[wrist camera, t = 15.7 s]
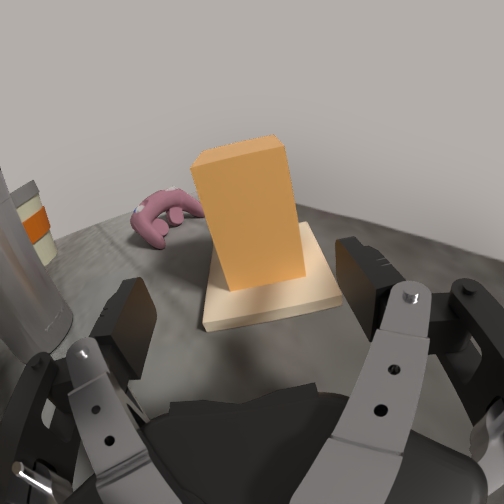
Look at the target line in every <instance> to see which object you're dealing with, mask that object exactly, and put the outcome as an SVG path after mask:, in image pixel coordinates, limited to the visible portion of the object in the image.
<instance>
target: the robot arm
mask: <svg viewBox="0 0 504 504" xmlns="http://www.w3.org/2000/svg"><path fill="white" fill-rule="evenodd" d="M335 251H336V276H337V281H338V285H339V287H340V289H341V291H342V293H343V294H344V296H345V298H346V300H347V302H348V303H349V305H350V307H351V309H352V310H353V312H354V314H355V316H356V318H357V320H358V321H359V323H360V325H361V327H362V329H363V331H364V333H365V334H366V336H367V338H368V340H369V342H372V344H371V347H370V349H369V352H368V355H367V357H366V360H365V363H364V365H363V368H362V370H361V373H360V375H359V377H358V380H357V382H356V385H355V387H354V389H353V391H352V394H351V396H350V397H348V396H345V395H341V394H336V393H327V392H318V391H317V388H316V384H315V383H310V384H306V385H301V386H297V387H292V388H287V389H281V390H277V391H275V392H272V393H270V394H267V395H265V396H262V397H259V398H257V399H254V400H251V401H249V402H246V403H242V404H232V403H223V402H214V401H207V400H199V401H184V402H170V410H169V413H166V414H163V415H160V416H158V417H156V418H154V419H152V420H151V421H150V420H149V418H148V417H147V415H146V413H145V412H144V410H143V409H142V407H141V405H140V404H139V402H138V400H137V399H136V397H135V395H134V394H133V392H132V390H131V389H130V387H129V386H128V381H129V380H140V379H141V375H142V371H143V367H144V363H145V359H146V356H147V352H148V348H149V345H150V341H151V338H152V334H153V331H154V327H155V324H156V320H157V313H156V309H155V306H154V304H153V301H152V299H151V297H150V295H149V292H148V290H147V288H146V285H145V283H144V281H143V279H142V278H141V277H137V278H132V279H126V280H123V281H122V283H121V285H120V287H119V289H118V290H117V292H116V293H115V294H114V295H113V296H112V297H111V298H110V299H109V300H108V301H107V303H106V304H105V306H104V308H103V311H102V312H101V314H100V317H99V318H98V320H97V321H96V323H95V325H94V327H93V329H92V331H91V333H90V335H89V337H86V338H82V339H80V340H78V341H76V342H75V343H74V344H73V345H72V346H71V347H70V348H69V349H68V351H67V354H66V357H65V358H62V359H59V360H56V361H54V360H53V358H52V357H51V356H50V354H49V353H50V352H52V351H53V350H54V349H55V348H56V347H57V346H58V345H59V344H60V342H61V341H62V340H63V338H64V337H65V335H66V334H67V332H68V331H69V328H70V326H71V323H72V319H73V314H72V311H71V309H70V308H69V306H68V305H67V303H66V302H65V300H64V299H63V297H62V295H61V294H60V292H59V291H58V289H57V287H56V286H55V284H54V282H53V281H52V279H51V277H50V276H49V274H48V272H47V270H46V269H45V267H44V265H43V263H42V262H41V260H40V258H39V256H38V254H37V252H36V250H35V249H34V247H33V245H32V243H31V241H30V239H29V237H28V235H27V232H26V230H25V228H24V226H23V224H22V222H21V220H20V217H19V215H18V213H17V210H16V208H15V206H14V203H13V201H12V198H11V196H10V193H9V191H8V188H7V185H6V183H5V180H4V177H3V174H2V171H1V168H0V338H1V339H2V340H3V341H4V343H5V344H6V345H7V346H8V347H9V349H10V350H11V351H12V352H13V353H14V355H15V356H16V357H17V358H18V359H19V360H20V361H21V362H23V363H27V364H26V366H25V368H24V370H23V373H22V375H21V377H20V379H19V381H18V383H17V385H16V387H15V390H14V392H13V394H12V396H11V399H10V401H9V404H8V406H7V408H6V411H5V413H4V416H3V419H2V421H1V424H0V504H486V503H487V497H488V495H490V494H491V493H492V492H494V491H495V490H497V489H498V488H499V487H501V486H502V485H503V484H504V308H503V307H502V306H501V305H500V304H499V303H498V302H497V300H496V299H495V298H494V297H493V296H492V295H491V294H490V293H489V292H488V291H487V290H486V289H485V288H484V287H483V286H482V285H481V284H480V283H479V282H477V281H475V280H472V279H467V278H462V279H458V280H456V281H454V282H453V284H452V287H451V291H450V293H431V292H430V290H429V289H428V288H427V287H426V286H425V285H423V284H421V283H418V282H414V281H406V280H405V279H404V278H403V276H402V275H401V274H400V273H399V272H398V271H397V270H396V269H395V268H394V267H393V266H392V264H390V262H389V261H388V260H387V259H385V257H384V256H383V255H382V254H381V253H380V252H379V251H378V250H376V249H374V248H372V247H370V246H363V245H362V244H361V243H360V242H359V241H358V239H357V238H356V237H354V236H352V237H347V238H342V239H337V240H336V243H335ZM471 336H473V338H474V339H475V341H476V342H477V343H478V345H479V346H480V348H481V351H482V357H481V355H480V354H479V352H478V351H477V349H476V348H475V346H474V345H473V343H472V342H471V340H470V339H471ZM430 354H436V355H437V357H438V359H439V361H440V362H441V364H442V366H443V368H444V370H445V371H446V373H447V375H448V377H449V379H450V381H451V382H452V384H453V386H454V388H455V390H456V392H457V394H458V396H459V398H460V400H461V402H462V404H463V406H464V408H465V410H466V412H467V414H468V416H469V418H470V421H471V423H472V425H473V429H472V431H471V434H470V448H469V451H470V453H471V454H472V456H471V458H470V457H469V456H467V455H464V454H462V453H460V452H457V451H455V450H453V449H451V448H449V447H446V446H444V445H442V444H440V443H438V442H436V441H434V440H432V439H430V438H428V437H425V436H423V435H421V434H419V433H417V432H415V431H413V430H412V429H411V426H412V423H413V419H414V416H415V412H416V408H417V404H418V400H419V396H420V392H421V387H422V383H423V378H424V373H425V367H426V362H427V356H428V355H430ZM47 398H48V399H49V400H50V401H51V402H52V403H53V404H54V405H55V406H56V409H55V412H54V415H53V418H52V421H51V424H50V428H49V429H48V428H47V427H46V426H45V425H44V424H43V422H42V419H41V413H42V410H43V407H44V405H45V402H46V399H47ZM81 439H82V442H83V445H84V447H85V450H86V453H87V455H88V458H89V460H90V462H91V465H92V467H93V469H94V472H95V473H94V474H93V475H92V476H91V477H90V478H88V479H87V480H86V481H85V482H84V483H83V484H82V485H81V486H80V487H79V488H78V489H77V490H76V491H74V492H73V488H72V483H73V477H74V471H75V465H76V460H77V455H78V450H79V445H80V440H81Z"/></svg>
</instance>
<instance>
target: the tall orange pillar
mask: <svg viewBox="0 0 504 504" xmlns="http://www.w3.org/2000/svg"><path fill="white" fill-rule="evenodd" d="M190 170H191V173H192V176H193V180H194V183H195V186H196V189H197V193H198V196H199V199H200V202H201V205H202V208H203V212H204V215H205V218H206V221H207V224H208V227H209V230H210V233H211V236H212V239H213V242H214V245H215V248H216V251H217V254H218V257H219V260H220V263H221V266H222V269H223V272H224V275H225V278H226V281H227V283H228V286H229V289H230V292H231V291H236V290H242V289H247V288H252V287H257V286H262V285H267V284H272V283H277V282H282V281H287V280H292V279H297V278H301V277H306V271H305V264H304V257H303V250H302V243H301V237H300V230H299V224H298V218H297V212H296V206H295V200H294V195H293V189H292V183H291V178H290V172H289V167H288V162H287V157H286V151H285V146H284V145H283V144H282V143H281V142H280V141H279V140H278V139H277V137H276V136H275V135H269V136H264V137H260V138H255V139H250V140H245V141H242V142H237V143H233V144H229V145H224V146H220V147H217V148H213V149H209V150H205V151H202V153H201V154H200V156H199V157H198V158H197V160H196V161H195V162H194V163H193V165H192V166H191V168H190Z"/></svg>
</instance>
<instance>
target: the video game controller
mask: <svg viewBox="0 0 504 504" xmlns="http://www.w3.org/2000/svg"><path fill="white" fill-rule="evenodd" d="M165 211H166V213H167V220H168V222H169V224H171V225H172V226H178V225H180V224H181V223H182V222H183V220H184V216H183V212H182V211H186V212H188V213H190V214H192V215H194V216H197V217H202V218H203V217H205V215H204V212H203V208H202V205H201V203H200V202H199V201H197V200H196V199H194V198H193V197H191V196H190V195H188V194H187V193H186V192H184V191H183V190H181V189H176V188H175V187H171V188H169V189H166V190H160V191H157V192H155V193H154V194H152V195H150V196H149V197H147V198H146V199H145V200H144V201H143V202H142V203H141V204H140V205H139V206H138V207H137V208H136V209H135V210H134V213H133V215H132V216H131V219H130V223H131V226H132V228H133V229H134V230H135V231H136V232H137V233H139V234H140V235H141V236H142V237H143V238H144V239H145V240H146V241H147V242H148V243H149V244H151V245H152V246H154V247H156V248H158V249H164V248H165V240H164V238H163V236H164V235H166V234H167V233H168V231H169V227H168V224H167V223H166V222H165V221H164V220H162V219H158V218H157V217H158V216H159V215H160V214H161V213H163V212H165Z"/></svg>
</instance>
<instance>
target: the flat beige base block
mask: <svg viewBox="0 0 504 504" xmlns="http://www.w3.org/2000/svg"><path fill="white" fill-rule="evenodd" d="M298 224H299V230H300V237H301V243H302V250H303V257H304V264H305V271H306V277H301V278H297V279H292V280H287V281H282V282H277V283H272V284H267V285H262V286H257V287H252V288H247V289H242V290H236V291H231V292H230V289H229V286H228V283H227V281H226V278H225V275H224V272H223V269H222V266H221V263H220V260H219V257H218V254H217V251H216V248H215V245H213V251H212V258H211V264H210V271H209V278H208V285H207V292H206V300H205V307H204V315H203V325H204V327H205V329H206V331H207V332H212V331H218V330H224V329H230V328H236V327H242V326H247V325H253V324H258V323H263V322H269V321H274V320H279V319H284V318H288V317H293V316H298V315H302V314H307V313H311V312H316V311H320V310H324V309H328V308H333V307H337V306H341V305H342V294H341V292H340V290H339V287H338V285H337V283H336V281H335V279H334V276H333V274H332V272H331V270H330V268H329V266H328V264H327V262H326V260H325V257H324V255H323V253H322V251H321V249H320V247H319V245H318V243H317V241H316V239H315V237H314V235H313V233H312V231H311V229H310V227H309V225H308V223H307V222H302V223H298Z"/></svg>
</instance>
